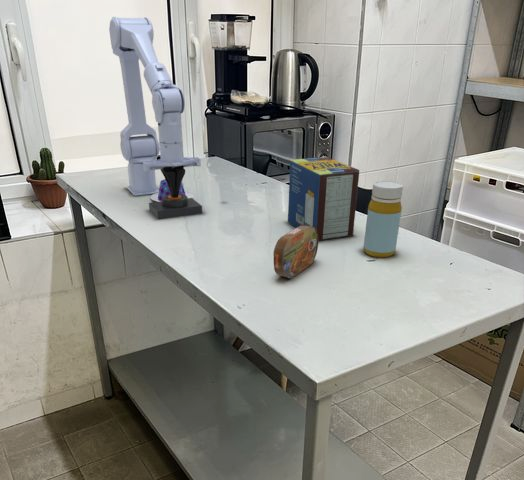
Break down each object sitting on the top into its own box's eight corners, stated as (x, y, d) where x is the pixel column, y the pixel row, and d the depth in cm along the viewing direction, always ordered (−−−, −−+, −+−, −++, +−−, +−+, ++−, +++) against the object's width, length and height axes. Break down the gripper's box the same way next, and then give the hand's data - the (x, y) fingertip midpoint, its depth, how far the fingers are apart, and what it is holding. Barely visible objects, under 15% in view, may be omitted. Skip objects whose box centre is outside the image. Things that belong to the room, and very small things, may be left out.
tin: (283, 284, 105) (285, 243, 101) (269, 280, 106) (270, 239, 102) (318, 260, 116) (321, 221, 112) (305, 257, 117) (307, 219, 113)
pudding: (195, 204, 149) (194, 185, 147) (151, 206, 147) (149, 186, 145) (191, 192, 159) (190, 174, 157) (150, 194, 157) (148, 176, 155)
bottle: (376, 260, 116) (385, 190, 109) (356, 249, 122) (364, 182, 114) (401, 255, 119) (412, 186, 111) (381, 245, 125) (390, 178, 117)
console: (158, 219, 138) (156, 204, 136) (149, 210, 144) (147, 195, 142) (202, 213, 142) (201, 198, 140) (191, 205, 149) (191, 191, 146)
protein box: (322, 217, 141) (327, 156, 133) (353, 236, 129) (360, 170, 121) (286, 222, 138) (289, 159, 130) (315, 242, 126) (319, 173, 118)
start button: (170, 205, 140) (170, 199, 139) (166, 202, 143) (165, 195, 142) (183, 204, 141) (183, 197, 140) (179, 200, 144) (178, 194, 143)
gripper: (146, 146, 128) (152, 203, 135) (204, 142, 134) (206, 197, 141) (138, 141, 133) (144, 196, 141) (194, 137, 139) (196, 190, 146)
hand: (174, 196), depth 141 cm, fingers closed, pressing on start button
